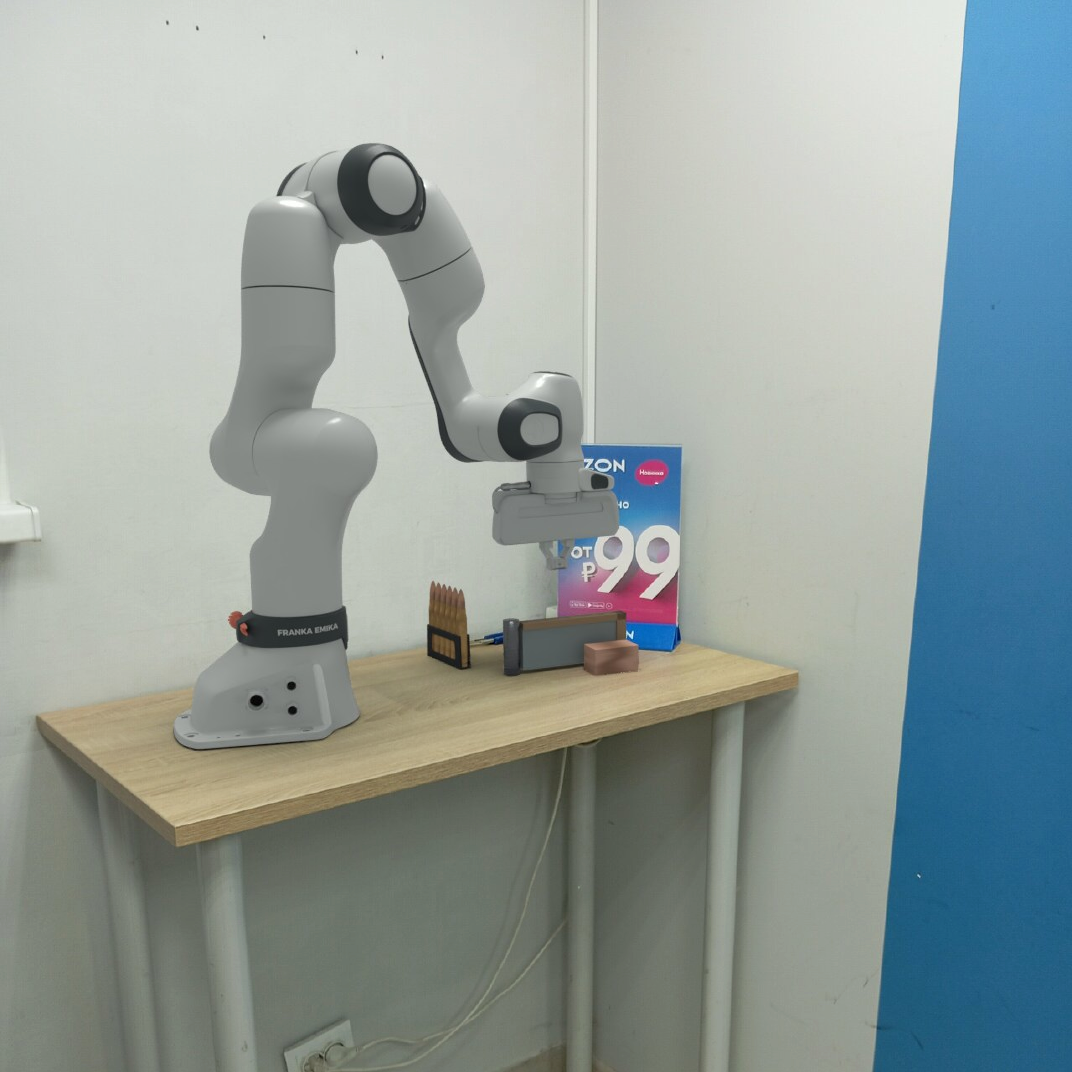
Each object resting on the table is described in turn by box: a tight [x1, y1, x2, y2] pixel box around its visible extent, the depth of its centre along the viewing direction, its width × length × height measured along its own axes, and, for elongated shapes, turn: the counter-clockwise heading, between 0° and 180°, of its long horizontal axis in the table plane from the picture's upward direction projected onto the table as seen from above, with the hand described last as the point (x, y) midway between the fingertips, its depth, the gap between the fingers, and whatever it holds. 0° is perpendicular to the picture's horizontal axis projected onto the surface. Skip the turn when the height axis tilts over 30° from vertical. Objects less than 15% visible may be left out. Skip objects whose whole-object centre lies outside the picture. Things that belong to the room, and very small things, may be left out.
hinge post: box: [502, 617, 521, 677], centre depth 149 cm, size 2×2×8 cm
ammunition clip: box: [426, 580, 472, 671], centre depth 156 cm, size 11×2×12 cm, turn 34°
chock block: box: [583, 639, 640, 677], centre depth 151 cm, size 7×4×4 cm, turn 112°
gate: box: [519, 610, 627, 671], centre depth 153 cm, size 17×2×7 cm, turn 114°
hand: (557, 569), depth 157 cm, fingers closed
